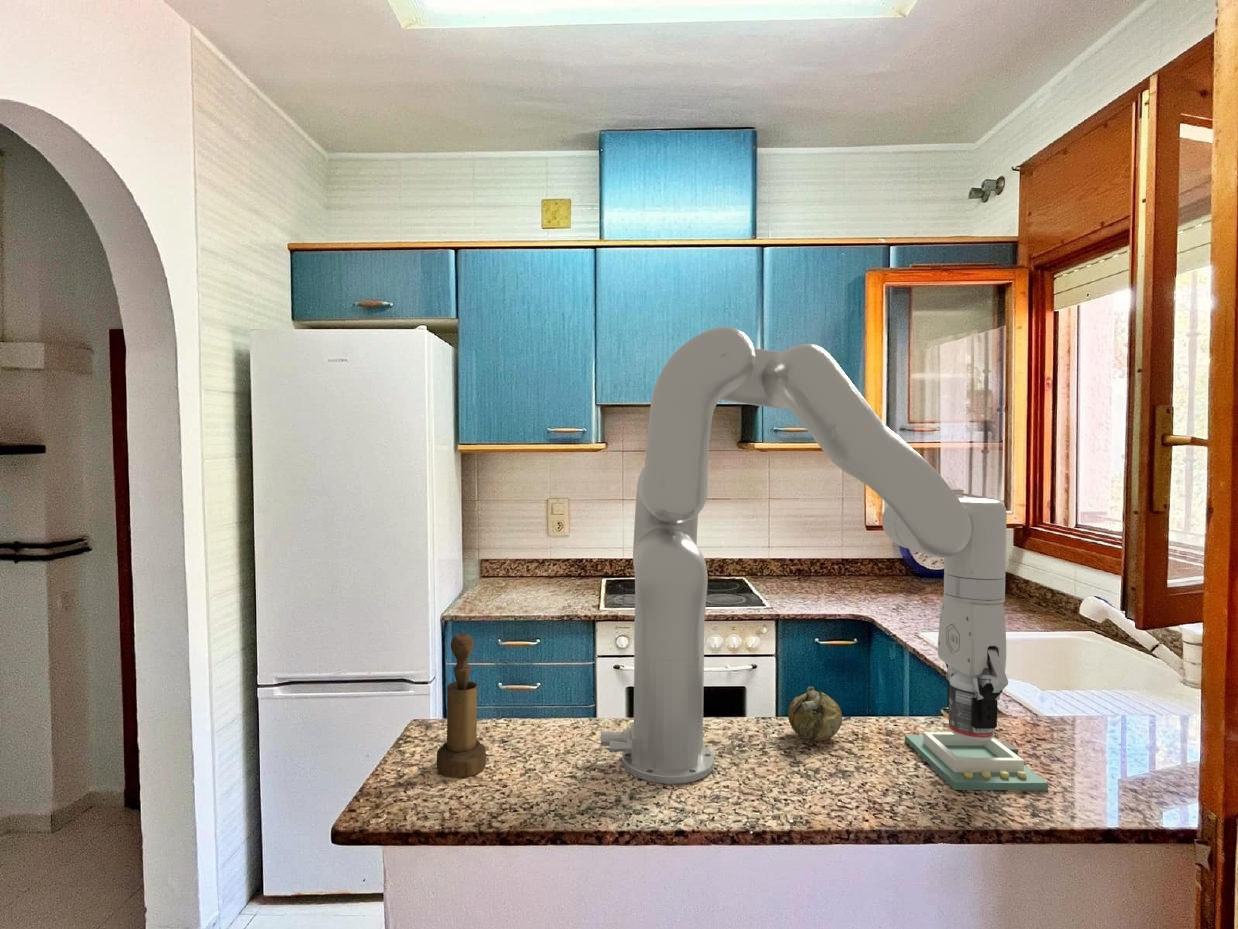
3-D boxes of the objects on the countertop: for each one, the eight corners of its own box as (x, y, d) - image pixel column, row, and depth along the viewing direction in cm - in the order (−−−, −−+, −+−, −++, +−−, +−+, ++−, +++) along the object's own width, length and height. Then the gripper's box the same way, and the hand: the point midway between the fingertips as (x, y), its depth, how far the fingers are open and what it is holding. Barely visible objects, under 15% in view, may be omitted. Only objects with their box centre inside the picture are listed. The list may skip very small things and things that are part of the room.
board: (955, 790, 89) (955, 770, 89) (904, 741, 104) (905, 724, 104) (1048, 790, 89) (1048, 770, 89) (984, 741, 104) (985, 724, 104)
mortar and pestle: (496, 766, 95) (496, 634, 94) (455, 783, 90) (456, 644, 90) (466, 752, 99) (467, 625, 99) (426, 767, 94) (427, 634, 94)
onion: (852, 746, 102) (853, 692, 102) (801, 750, 101) (802, 695, 101) (827, 726, 110) (828, 675, 110) (779, 729, 108) (780, 678, 108)
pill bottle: (954, 722, 101) (955, 654, 101) (998, 733, 97) (1000, 661, 97) (943, 734, 96) (944, 663, 96) (989, 746, 93) (990, 671, 93)
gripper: (918, 576, 105) (916, 696, 105) (980, 601, 88) (977, 744, 88) (968, 577, 105) (966, 696, 105) (1039, 602, 88) (1036, 744, 88)
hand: (971, 717), depth 97 cm, fingers closed on pill bottle, 5 cm apart
